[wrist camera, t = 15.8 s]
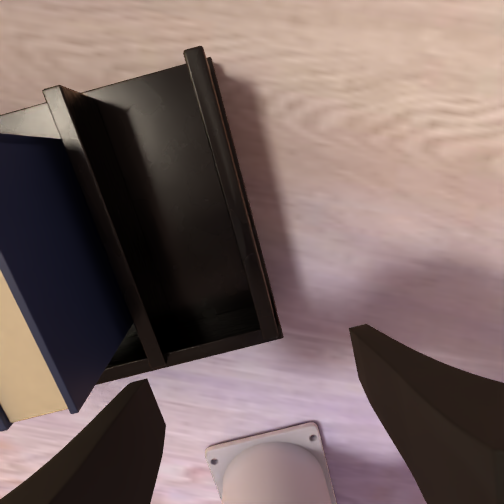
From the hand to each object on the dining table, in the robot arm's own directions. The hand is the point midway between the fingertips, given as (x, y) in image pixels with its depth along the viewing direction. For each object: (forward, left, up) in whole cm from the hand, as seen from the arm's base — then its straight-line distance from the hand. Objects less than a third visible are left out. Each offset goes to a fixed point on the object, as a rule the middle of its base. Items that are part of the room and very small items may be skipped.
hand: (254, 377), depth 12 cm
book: (+5, +8, -8) cm, 13 cm away
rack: (+5, +8, -9) cm, 13 cm away
